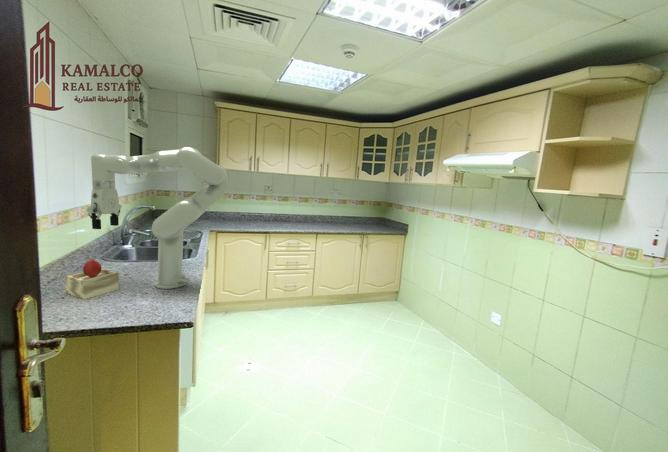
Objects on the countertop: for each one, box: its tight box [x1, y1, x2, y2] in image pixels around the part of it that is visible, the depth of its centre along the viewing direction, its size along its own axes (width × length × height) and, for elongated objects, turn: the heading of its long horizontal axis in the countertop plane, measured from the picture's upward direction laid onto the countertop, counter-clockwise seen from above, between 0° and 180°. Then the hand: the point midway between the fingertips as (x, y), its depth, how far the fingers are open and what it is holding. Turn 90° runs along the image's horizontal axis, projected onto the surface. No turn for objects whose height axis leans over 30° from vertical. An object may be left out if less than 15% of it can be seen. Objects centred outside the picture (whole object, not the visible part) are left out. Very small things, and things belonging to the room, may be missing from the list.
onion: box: [82, 258, 103, 278], centre depth 124 cm, size 6×6×8 cm
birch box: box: [64, 268, 120, 300], centre depth 125 cm, size 11×13×8 cm
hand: (106, 227), depth 130 cm, fingers open, 9 cm apart
